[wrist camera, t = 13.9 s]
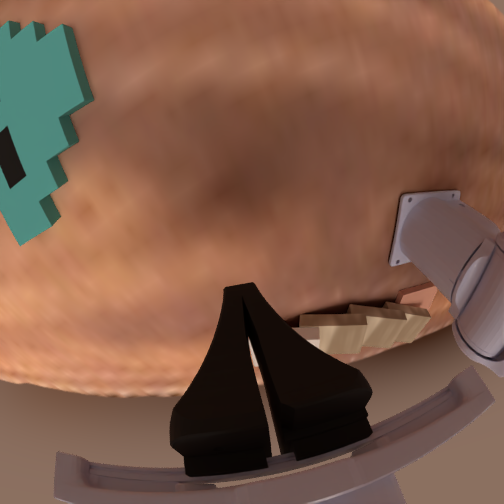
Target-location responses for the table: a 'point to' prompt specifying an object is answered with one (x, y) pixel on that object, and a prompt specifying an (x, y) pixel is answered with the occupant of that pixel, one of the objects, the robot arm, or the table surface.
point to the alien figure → (36, 121)
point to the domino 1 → (338, 331)
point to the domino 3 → (417, 295)
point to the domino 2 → (380, 325)
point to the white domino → (306, 332)
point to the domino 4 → (410, 320)
